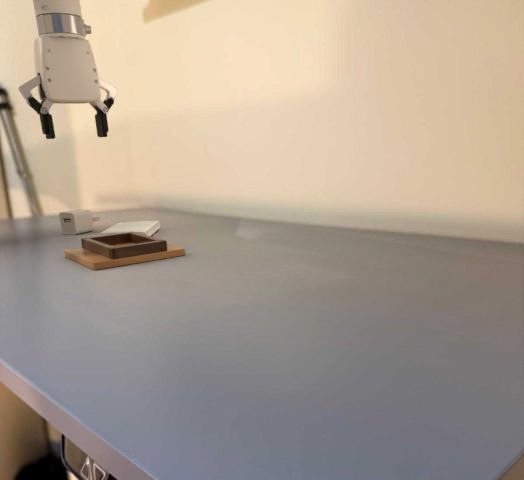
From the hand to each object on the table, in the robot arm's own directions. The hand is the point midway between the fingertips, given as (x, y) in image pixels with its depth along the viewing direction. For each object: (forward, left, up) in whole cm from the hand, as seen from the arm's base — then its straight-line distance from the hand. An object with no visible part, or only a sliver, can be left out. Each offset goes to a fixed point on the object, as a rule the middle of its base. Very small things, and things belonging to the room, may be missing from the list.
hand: (77, 137), depth 99 cm
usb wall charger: (0, -2, -17) cm, 17 cm away
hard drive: (+11, +3, -17) cm, 21 cm away
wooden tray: (+28, -6, -17) cm, 33 cm away
